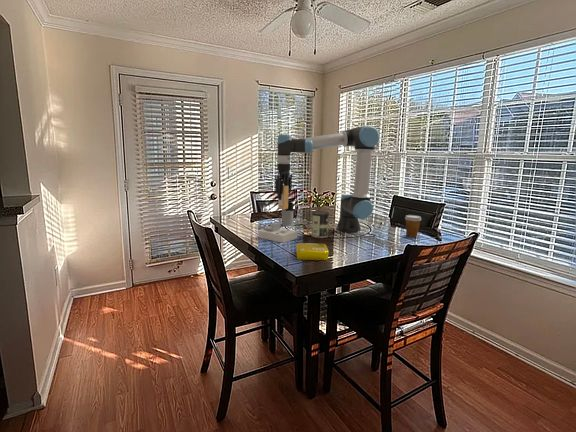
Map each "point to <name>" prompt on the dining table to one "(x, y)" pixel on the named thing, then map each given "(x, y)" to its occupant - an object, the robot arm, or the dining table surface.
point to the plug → (284, 198)
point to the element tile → (311, 251)
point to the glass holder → (288, 215)
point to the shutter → (273, 227)
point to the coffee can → (320, 224)
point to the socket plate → (279, 235)
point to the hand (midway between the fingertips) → (283, 204)
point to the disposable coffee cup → (412, 225)
